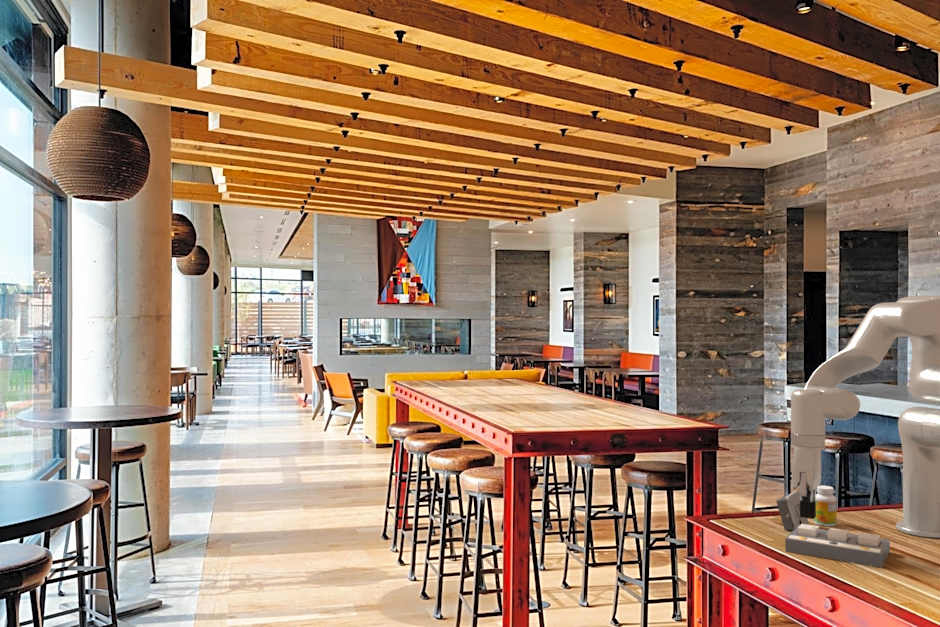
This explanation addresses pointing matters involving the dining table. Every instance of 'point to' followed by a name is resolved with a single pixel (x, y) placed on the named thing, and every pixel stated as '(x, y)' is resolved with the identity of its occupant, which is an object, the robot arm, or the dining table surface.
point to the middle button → (838, 535)
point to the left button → (808, 530)
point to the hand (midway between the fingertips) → (807, 517)
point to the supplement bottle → (826, 506)
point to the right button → (869, 539)
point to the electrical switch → (791, 511)
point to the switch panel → (838, 548)
